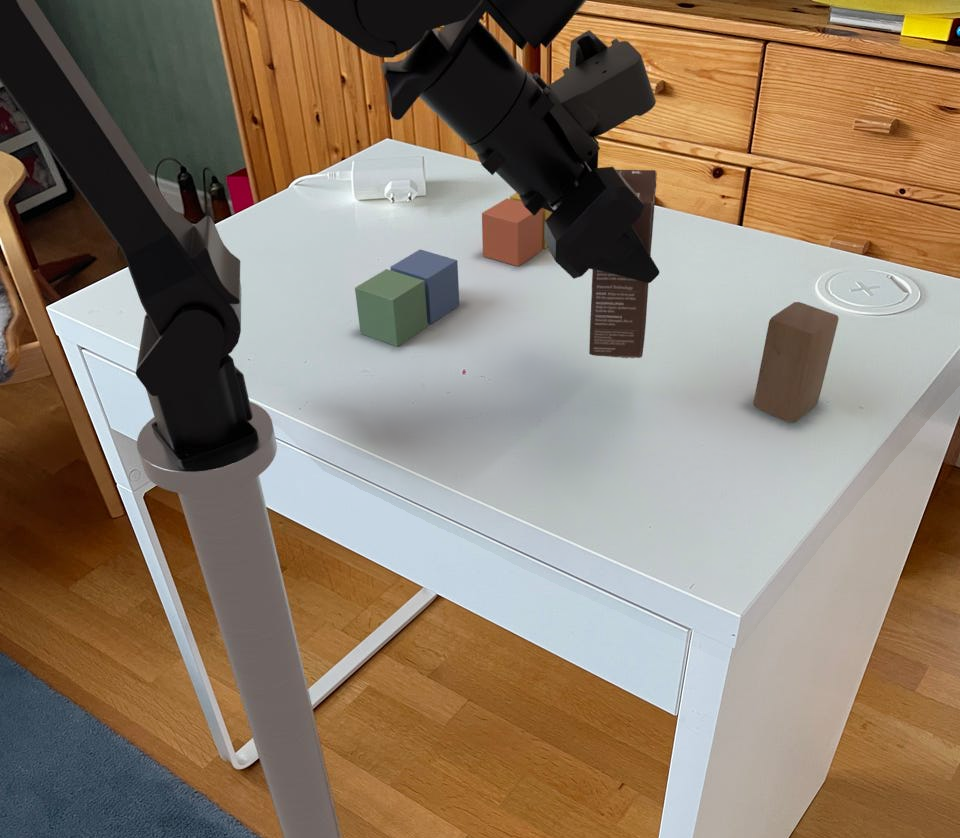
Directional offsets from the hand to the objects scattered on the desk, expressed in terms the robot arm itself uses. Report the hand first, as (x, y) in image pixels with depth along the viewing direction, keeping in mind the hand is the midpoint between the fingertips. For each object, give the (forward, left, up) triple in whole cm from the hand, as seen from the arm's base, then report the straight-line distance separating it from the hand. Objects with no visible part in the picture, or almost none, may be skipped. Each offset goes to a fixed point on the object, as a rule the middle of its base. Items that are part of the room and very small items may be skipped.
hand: (641, 257), depth 73 cm
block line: (+2, +27, -12) cm, 29 cm away
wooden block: (+10, -8, -12) cm, 18 cm away
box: (-1, +1, -7) cm, 7 cm away
